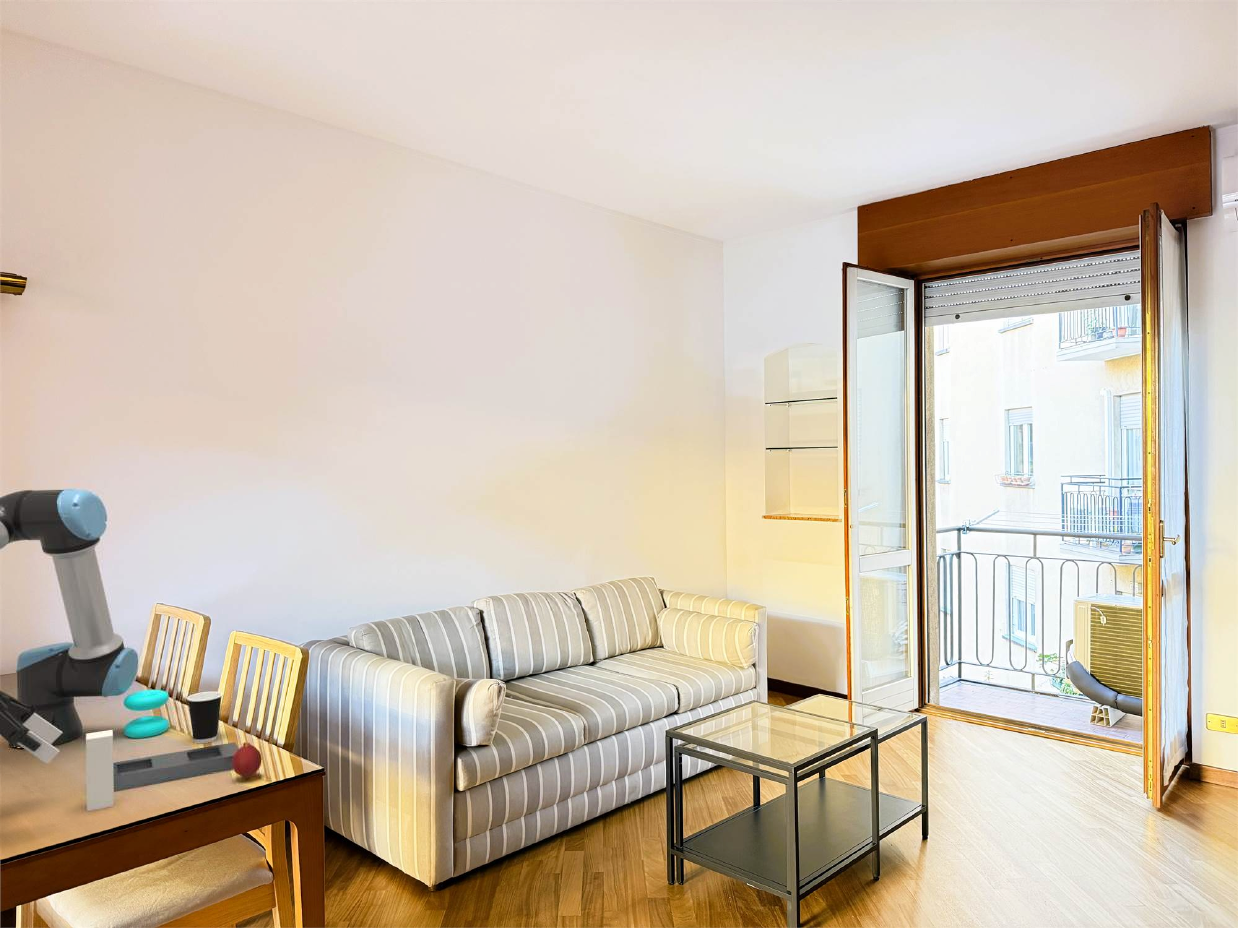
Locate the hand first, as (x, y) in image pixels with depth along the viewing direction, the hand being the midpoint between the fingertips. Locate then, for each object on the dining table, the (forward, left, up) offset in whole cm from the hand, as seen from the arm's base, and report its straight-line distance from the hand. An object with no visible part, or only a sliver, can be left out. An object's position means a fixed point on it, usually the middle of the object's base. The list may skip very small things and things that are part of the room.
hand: (55, 747), depth 164 cm
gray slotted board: (+13, +20, -13) cm, 27 cm away
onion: (+31, +14, -13) cm, 37 cm away
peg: (+6, +4, -13) cm, 15 cm away
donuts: (-4, +52, -13) cm, 54 cm away
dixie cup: (+13, +43, -13) cm, 47 cm away
